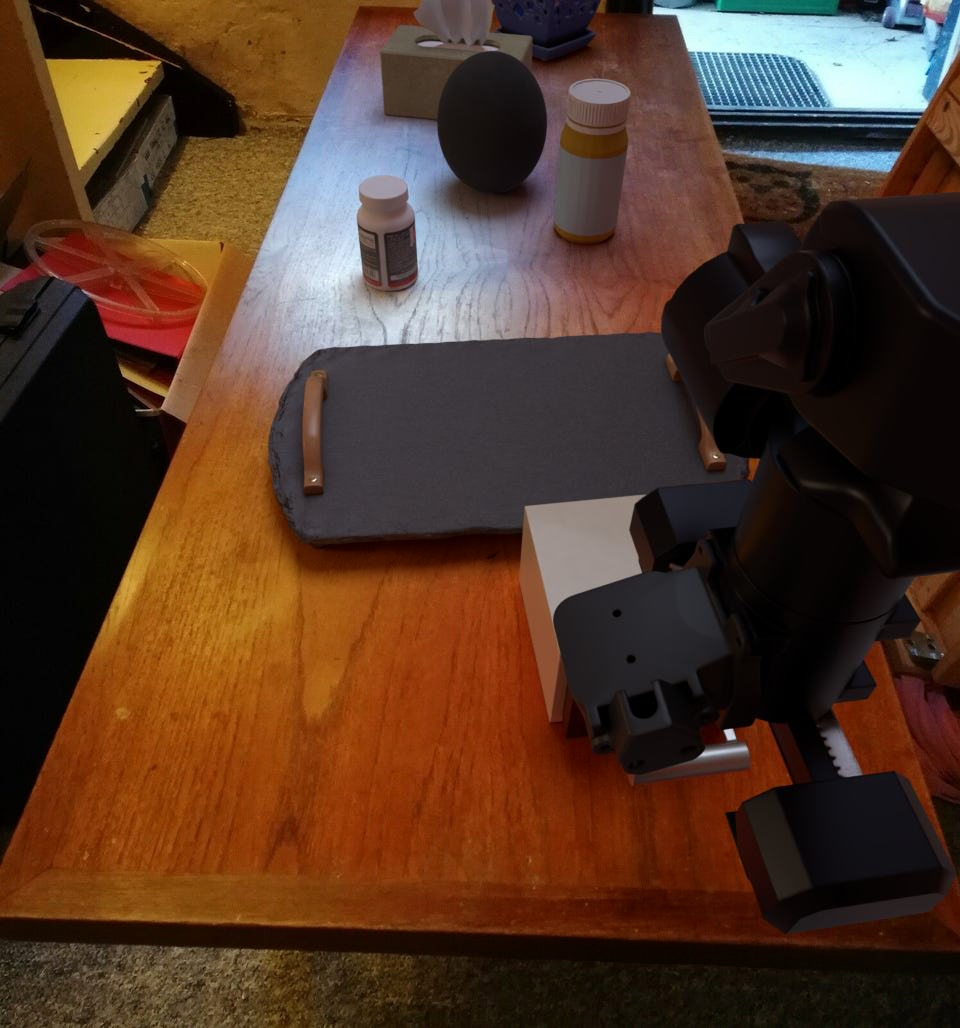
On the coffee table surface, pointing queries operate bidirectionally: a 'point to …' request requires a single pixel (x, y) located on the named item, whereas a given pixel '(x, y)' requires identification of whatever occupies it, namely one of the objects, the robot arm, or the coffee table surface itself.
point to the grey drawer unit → (570, 571)
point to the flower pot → (548, 24)
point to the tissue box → (439, 53)
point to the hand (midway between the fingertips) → (718, 764)
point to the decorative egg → (492, 122)
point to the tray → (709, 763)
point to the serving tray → (481, 434)
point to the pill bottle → (387, 233)
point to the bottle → (591, 161)
